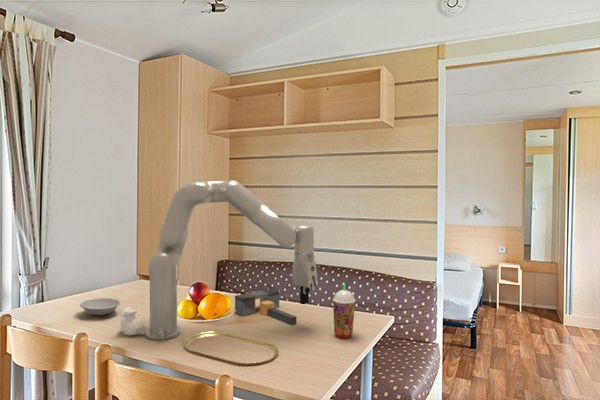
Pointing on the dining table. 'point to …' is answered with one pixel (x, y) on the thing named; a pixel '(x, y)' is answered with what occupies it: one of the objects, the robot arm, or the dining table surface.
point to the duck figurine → (131, 323)
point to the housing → (247, 301)
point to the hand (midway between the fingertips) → (304, 303)
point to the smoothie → (343, 313)
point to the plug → (276, 313)
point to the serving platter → (234, 336)
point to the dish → (100, 305)
